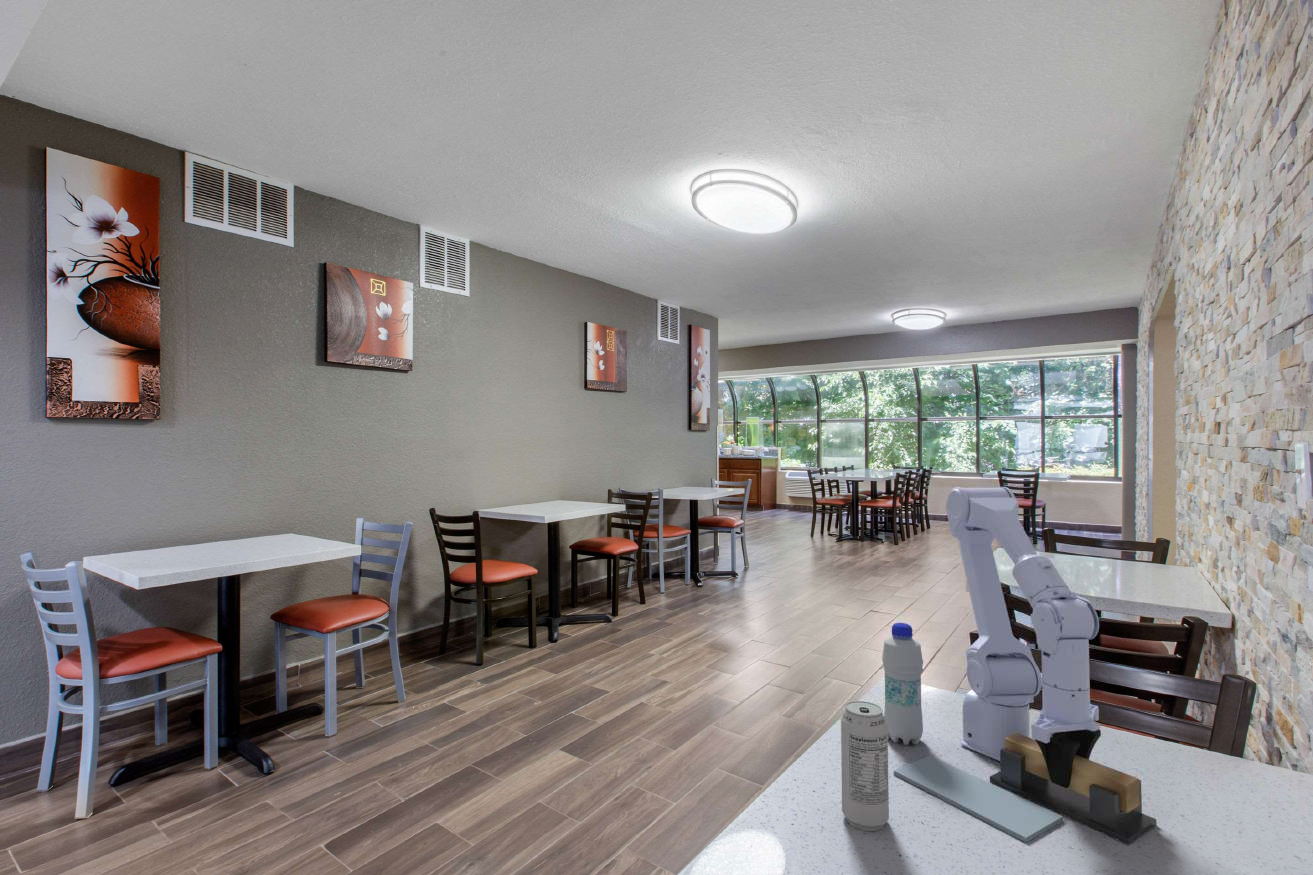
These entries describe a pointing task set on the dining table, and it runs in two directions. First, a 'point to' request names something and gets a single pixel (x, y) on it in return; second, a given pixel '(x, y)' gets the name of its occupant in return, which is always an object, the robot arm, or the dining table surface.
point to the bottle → (903, 685)
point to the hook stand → (1074, 800)
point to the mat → (980, 798)
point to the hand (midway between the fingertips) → (1067, 780)
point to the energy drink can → (864, 766)
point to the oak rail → (1079, 772)
